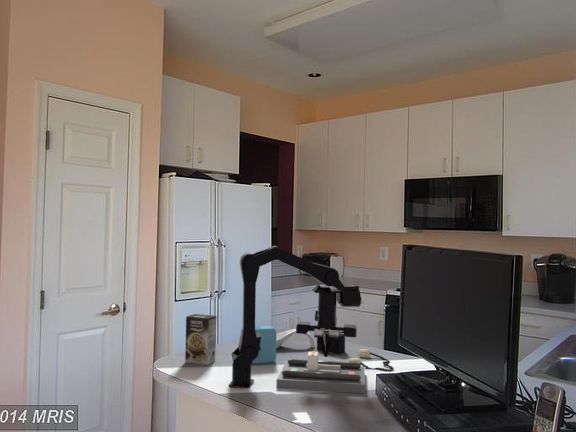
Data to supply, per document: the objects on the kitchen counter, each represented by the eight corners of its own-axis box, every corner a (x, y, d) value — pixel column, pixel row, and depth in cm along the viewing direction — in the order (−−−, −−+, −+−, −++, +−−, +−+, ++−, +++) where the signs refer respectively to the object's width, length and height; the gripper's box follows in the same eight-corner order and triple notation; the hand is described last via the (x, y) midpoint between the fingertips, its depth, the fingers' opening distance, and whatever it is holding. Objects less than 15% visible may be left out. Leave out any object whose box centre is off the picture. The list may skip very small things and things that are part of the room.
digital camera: (347, 351, 179) (347, 333, 180) (339, 354, 175) (339, 336, 175) (324, 347, 186) (325, 329, 186) (316, 349, 182) (317, 331, 182)
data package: (273, 358, 169) (273, 325, 169) (276, 362, 165) (276, 328, 165) (240, 360, 166) (240, 327, 166) (242, 364, 161) (243, 329, 162)
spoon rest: (255, 351, 179) (255, 333, 179) (254, 344, 190) (254, 326, 190) (316, 350, 181) (316, 332, 181) (311, 343, 193) (311, 325, 193)
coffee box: (184, 362, 163) (185, 316, 163) (193, 357, 169) (194, 313, 169) (207, 365, 160) (208, 318, 160) (216, 360, 166) (216, 315, 166)
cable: (399, 361, 169) (399, 351, 169) (392, 374, 154) (392, 364, 154) (357, 356, 175) (357, 346, 175) (346, 368, 160) (346, 358, 160)
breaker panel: (364, 393, 135) (364, 378, 135) (276, 387, 139) (276, 373, 139) (364, 373, 153) (364, 360, 153) (285, 369, 157) (286, 356, 157)
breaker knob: (316, 373, 144) (317, 355, 144) (307, 372, 145) (307, 354, 145) (318, 369, 148) (318, 351, 148) (308, 368, 149) (308, 351, 149)
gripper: (357, 304, 153) (356, 352, 153) (301, 301, 156) (299, 348, 156) (357, 310, 142) (355, 361, 142) (296, 306, 145) (294, 357, 145)
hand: (325, 356), depth 146 cm, fingers closed
